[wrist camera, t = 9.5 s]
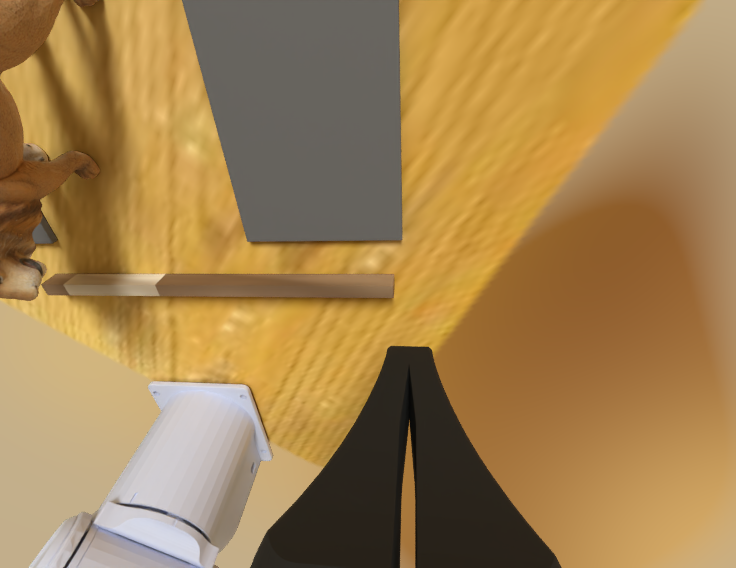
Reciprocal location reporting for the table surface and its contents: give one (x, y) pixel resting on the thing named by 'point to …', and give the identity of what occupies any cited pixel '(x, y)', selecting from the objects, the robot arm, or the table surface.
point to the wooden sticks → (224, 285)
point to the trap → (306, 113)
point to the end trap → (43, 233)
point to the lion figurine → (26, 152)
